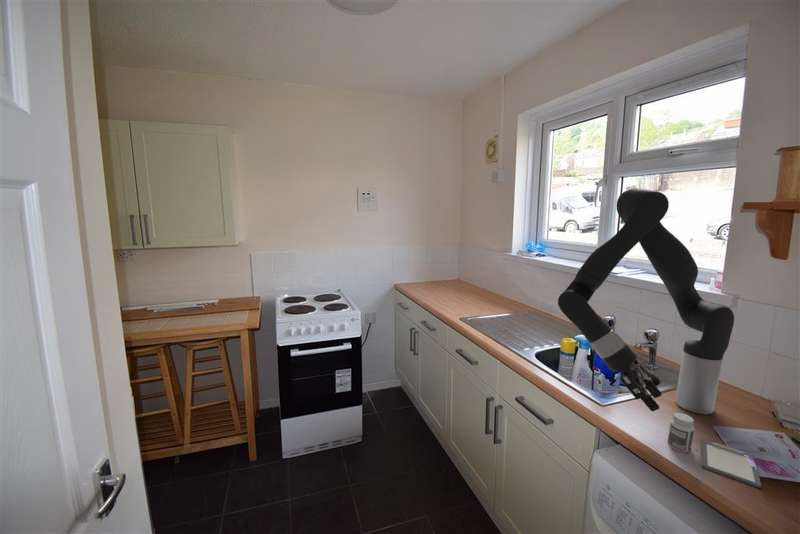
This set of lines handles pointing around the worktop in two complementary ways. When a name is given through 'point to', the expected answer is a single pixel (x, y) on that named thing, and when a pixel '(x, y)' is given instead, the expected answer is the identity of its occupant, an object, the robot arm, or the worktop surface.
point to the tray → (729, 463)
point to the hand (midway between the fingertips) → (657, 402)
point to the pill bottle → (681, 432)
